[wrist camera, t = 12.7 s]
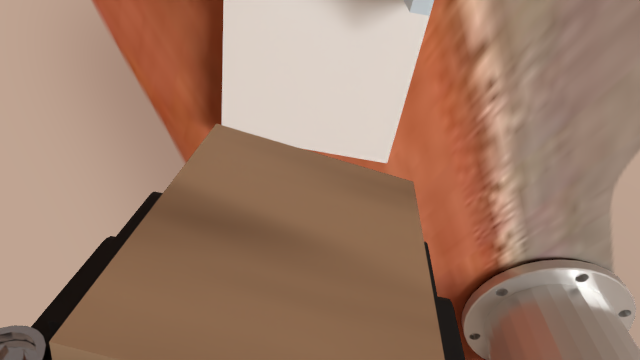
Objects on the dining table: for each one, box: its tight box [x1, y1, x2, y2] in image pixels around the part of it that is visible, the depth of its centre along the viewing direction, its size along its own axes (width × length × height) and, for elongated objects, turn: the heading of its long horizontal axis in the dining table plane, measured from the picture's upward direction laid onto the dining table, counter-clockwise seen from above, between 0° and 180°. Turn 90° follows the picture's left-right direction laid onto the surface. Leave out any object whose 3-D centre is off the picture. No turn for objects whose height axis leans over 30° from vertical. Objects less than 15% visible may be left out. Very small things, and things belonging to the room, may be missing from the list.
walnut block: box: [49, 124, 445, 360], centre depth 9 cm, size 5×5×6 cm
